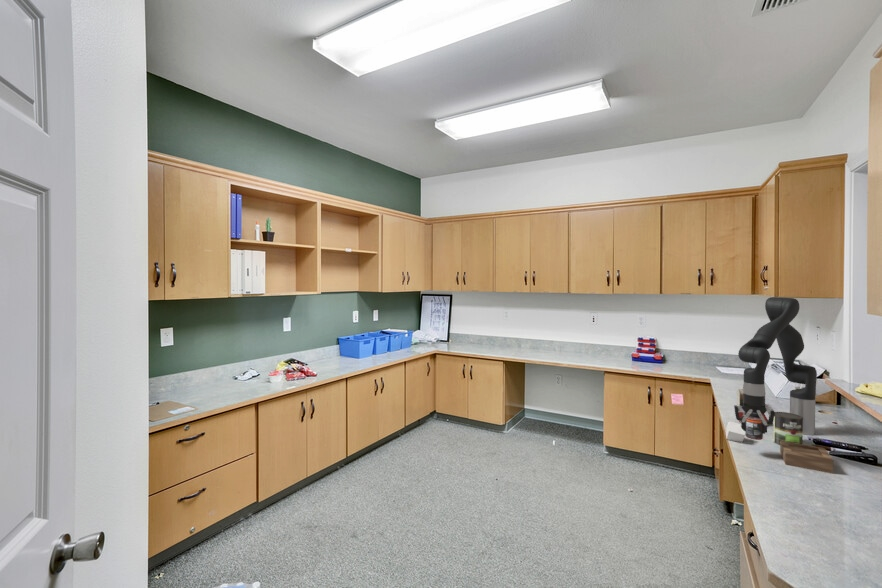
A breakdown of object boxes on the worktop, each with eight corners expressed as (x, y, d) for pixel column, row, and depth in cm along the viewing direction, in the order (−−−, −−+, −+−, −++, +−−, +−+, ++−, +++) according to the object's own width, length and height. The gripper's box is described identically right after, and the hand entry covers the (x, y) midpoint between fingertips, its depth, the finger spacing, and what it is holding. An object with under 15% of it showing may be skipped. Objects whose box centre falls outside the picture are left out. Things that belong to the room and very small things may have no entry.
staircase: (738, 414, 227) (739, 385, 227) (736, 409, 237) (736, 381, 236) (758, 416, 223) (758, 387, 222) (755, 411, 232) (755, 383, 232)
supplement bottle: (754, 435, 172) (754, 409, 172) (766, 440, 166) (766, 413, 166) (741, 435, 172) (741, 409, 172) (752, 440, 166) (752, 414, 166)
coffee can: (807, 451, 173) (808, 419, 173) (779, 448, 176) (779, 417, 176) (796, 443, 183) (796, 412, 182) (768, 440, 186) (769, 410, 186)
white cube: (741, 433, 186) (744, 425, 183) (741, 443, 182) (745, 435, 179) (726, 429, 189) (728, 421, 186) (726, 439, 185) (728, 431, 182)
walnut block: (780, 453, 171) (780, 440, 171) (824, 461, 163) (824, 447, 163) (785, 465, 160) (785, 451, 160) (833, 474, 152) (833, 459, 152)
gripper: (773, 393, 168) (773, 432, 168) (732, 389, 176) (732, 426, 176) (777, 397, 162) (777, 437, 162) (734, 392, 169) (734, 431, 169)
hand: (753, 431), depth 169 cm, fingers closed on supplement bottle, 6 cm apart
